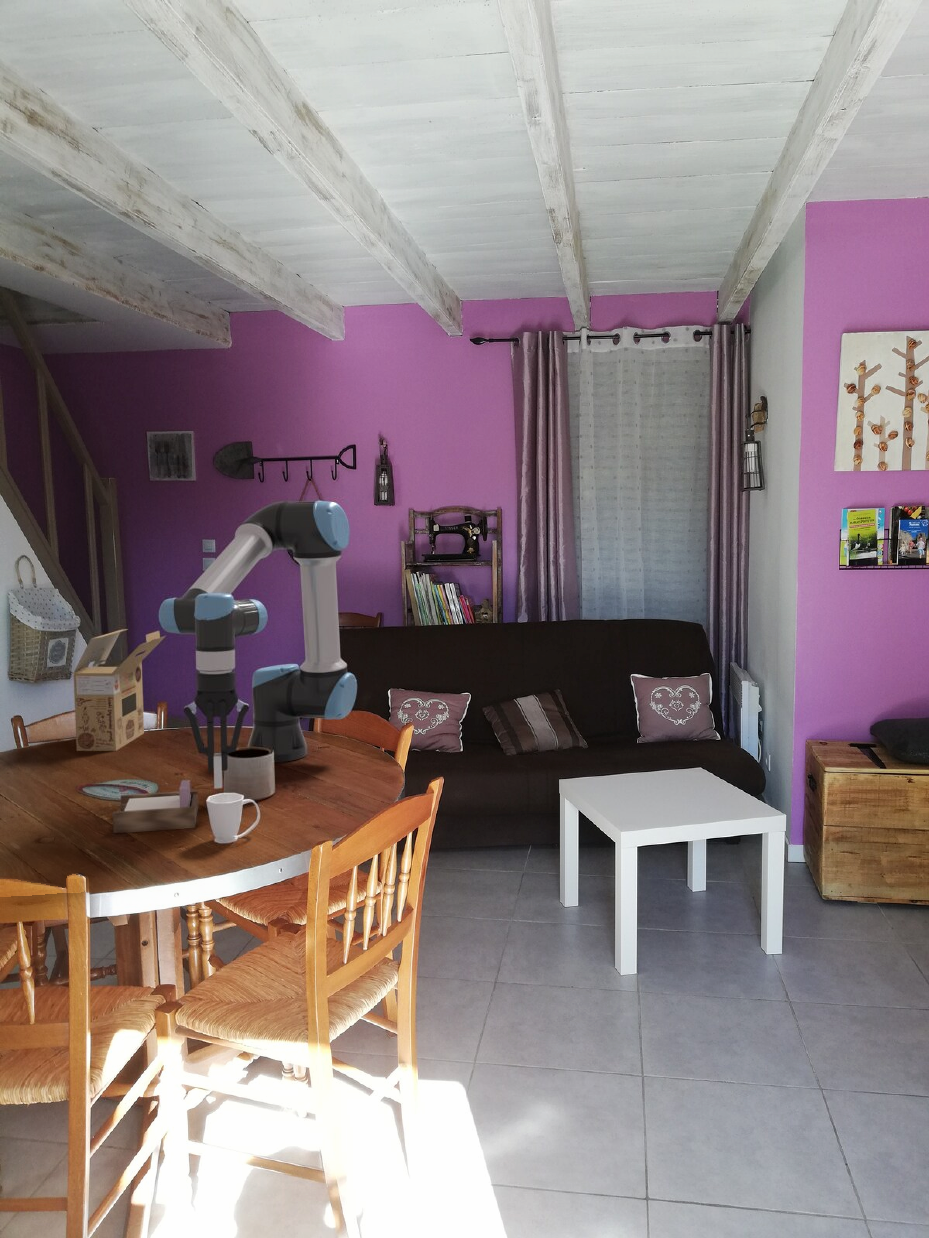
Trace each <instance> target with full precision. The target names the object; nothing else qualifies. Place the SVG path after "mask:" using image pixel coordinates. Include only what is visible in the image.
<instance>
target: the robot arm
mask: <svg viewBox="0 0 929 1238" xmlns="http://www.w3.org/2000/svg"><path fill="white" fill-rule="evenodd" d="M348 519H349V518H348V517H347V514H346V512H345V511H344V509H343V508H342V506H341V505H339V504H338V503H337V502H335V501H334V502H333V501H325V500H313V501H312V500H309V501H308V500H306V501H303V500H302V501H288V500H287V501H286V500H284V501H276V502H272V503H271V504H268V505H266V506H264V507H262V508H261V509H258V510H257V511H256V512H254V513H252V514H251V515H250V516H249V517H248V518H246V519H245V520H244V521H243V522H242V523H241V524H240V525H239V526H238V527H237V529H236V530H235V533H234V538H233V540H232V541H230V543H229V544H228V545H227V546H226V547H225V548H224V549H223V550H222V551H221V553H220V554H219V555H218V556H217V557H216V559H214V560H213V562H212V563H211V564H210V565H209V566H208V568H206V570H204V572H203V573H202V574H201V575H200V576H199V577H198V578H197V580H196V581H195V582H194V583H193V584H192V585H191V586H190V587H189V588H188V590H187V591H186V592H184V594H183V595H182V596H181V597H179V598H178V597H172V598H168V599H165V600H163V602H162V603H161V605H160V607H159V611H158V620H159V623H160V626H161V628H162V629H163V630H164V631H165V632H167V633H172V634H180V635H195V669H196V670H197V671H198V672H197V673H196V678H195V679H196V695H195V696H194V700H193V702H191V703H189V704H186V705H185V706H184V707H183V713H184V714H185V715H186V717H187V718H188V720H189V724H190V726H191V727H190V728H191V731H192V734H193V737H194V740H195V741H194V742H195V745H196V748H197V752H198V753H199V754H203V755H205V756H206V757H207V770H208V772H213V783H214V784H213V785H214V786H213V787H214V790H215V789H222V788H223V772H224V771H227V768H228V754H229V753H231V752H235V751H236V749H237V748H238V743H239V739H240V735H241V732H242V726H243V723H244V718H245V715H246V714H247V713H248V711H249V709H250V705H249V703H248V702H243V701H242V700H240V699H239V695H238V694H237V692H236V691H237V689H236V688H237V687H236V672H235V671H234V669H236V650H235V649H236V648H235V647H236V646H235V644H236V643H235V638H239V637H245V636H252V635H255V634H258V633H260V632H261V631H263V630H264V629H265V627H266V625H267V623H268V619H269V618H268V611H267V609H266V607H265V606H264V604H263V603H262V602H261V601H259V600H258V599H253V598H252V599H251V598H248V599H247V598H243V599H234V596H233V595H232V593H234V591H235V590H236V588H237V587H238V586H239V585H240V583H241V582H242V581H244V579H245V578H246V576H247V575H248V574H249V573H250V571H251V570H252V569H253V568H254V567H255V565H256V564H257V563H258V562H259V561H260V560H261V559H265V558H267V557H268V556H269V555H270V554H271V553H272V552H274V551H277V550H278V551H279V550H292V552H293V553H292V554H293V555H292V556H293V560H295V561H296V562H297V563H298V564H299V565H300V567H299V569H300V570H299V571H300V585H301V603H302V619H303V622H302V623H303V635H304V637H303V638H304V651H305V652H304V653H305V659H304V662H302V664H300V666H299V664H297V663H287V664H277V665H272V666H267V667H265V666H264V667H261V668H258V669H257V670H255V671H254V672H253V674H252V684H251V685H252V686H251V689H252V717H253V720H252V722H253V726H252V731H251V733H250V737H249V740H248V742H247V743H248V744H247V746H246V747H265V748H269V749H272V750H273V751H274V763H281V762H289V761H294V760H299V759H302V758H304V757H306V756H307V755H308V745H307V742H306V739H305V737H304V733H303V730H302V728H301V722H300V718H308V719H311V718H312V719H324V720H327V721H329V720H342V719H344V718H346V717H347V716H348V715H349V714H350V713H351V711H352V710H353V707H354V705H355V701H356V698H357V692H358V691H357V690H358V683H357V682H358V681H357V678H356V676H355V675H354V674H353V673H351V672H348V664H347V662H345V661H344V660H343V659H342V657H341V643H340V641H341V640H340V626H339V624H340V622H339V604H338V603H339V602H338V585H337V583H338V582H337V565H336V564H337V562H338V561H339V560H340V558H341V557H342V551H343V550H345V549H346V548H347V547H348V546H349V545H348V544H349V543H350V540H349V539H350V535H351V531H350V524H349V523H350V522H349V520H348ZM197 707H198V709H199V711H201V713H202V714H203V715H204V716H205V717H206V738H207V739H206V741H207V743H206V745H207V746H206V745H205V743H204V740H203V739H204V738H203V735H202V733H201V728H200V725H199V721H198V717H197V715H196V714H197V711H198V710H197ZM234 707H236V711H237V716H236V720H235V725H234V729H233V733H232V738H231V741H230V744H229V745H228V717H227V716H229V715H230V714H231V712H232V711H233V709H234ZM215 718H219V721H220V724H219V725H220V731H219V732H220V752H219V753H218V752H217V753H215V722H214V720H215Z"/></svg>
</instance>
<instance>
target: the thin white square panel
mask: <svg viewBox="0 0 929 1238" xmlns="http://www.w3.org/2000/svg"><path fill="white" fill-rule="evenodd" d="M179 786H180V787H179V791H178V792H179V793H180V796H165V797H149V798H133V799H129V801H128V803H127V805H126V808H125V810H124V811H134V810H149V809H164V808H179V807H190V802H191V795H190V791H191V780H190V779H185V780H181V782H180V785H179Z"/></svg>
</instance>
